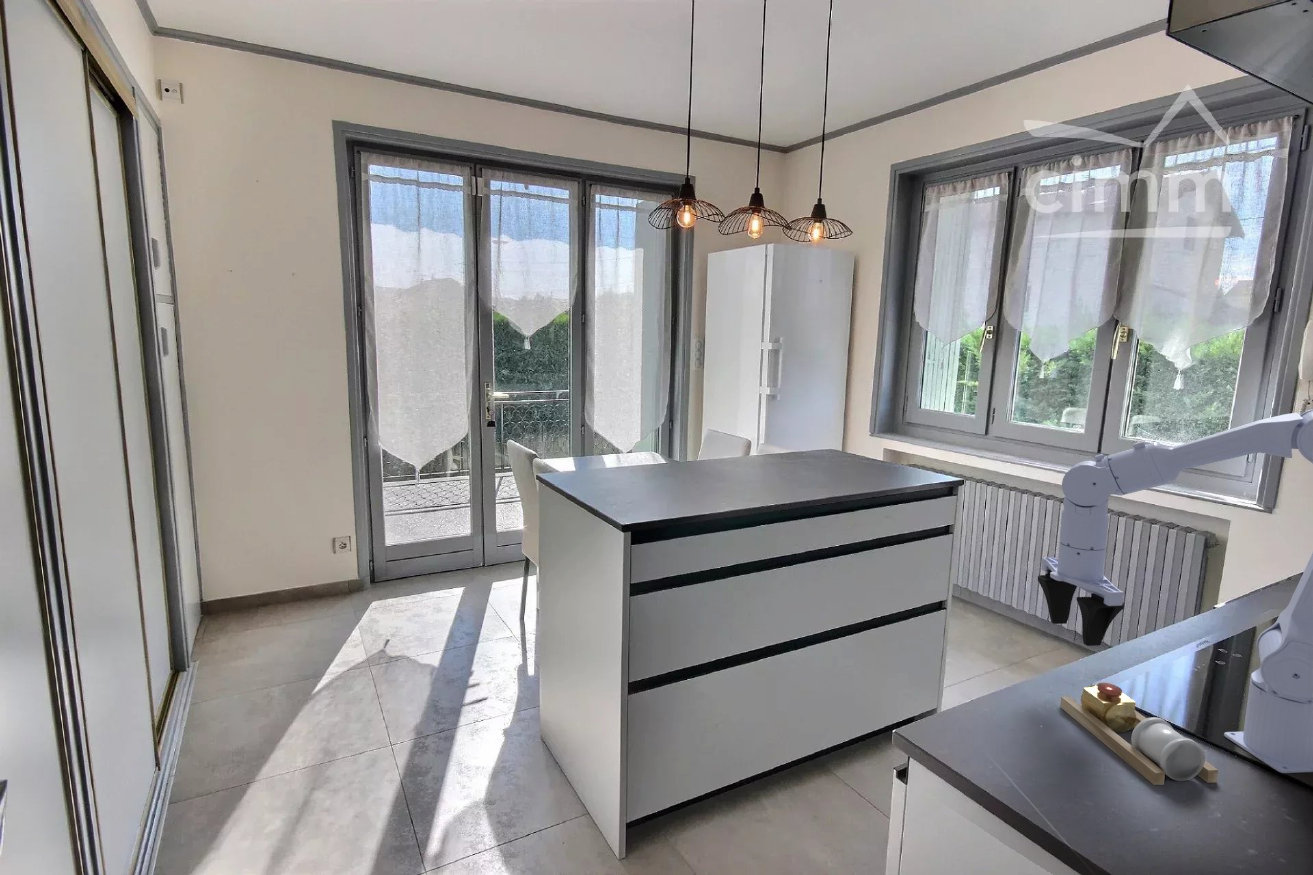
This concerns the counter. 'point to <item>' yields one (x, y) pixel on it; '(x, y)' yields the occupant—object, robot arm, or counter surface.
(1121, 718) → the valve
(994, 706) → the counter surface
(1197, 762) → the coupling
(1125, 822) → the counter surface
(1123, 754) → the guide rails
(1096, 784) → the counter surface
